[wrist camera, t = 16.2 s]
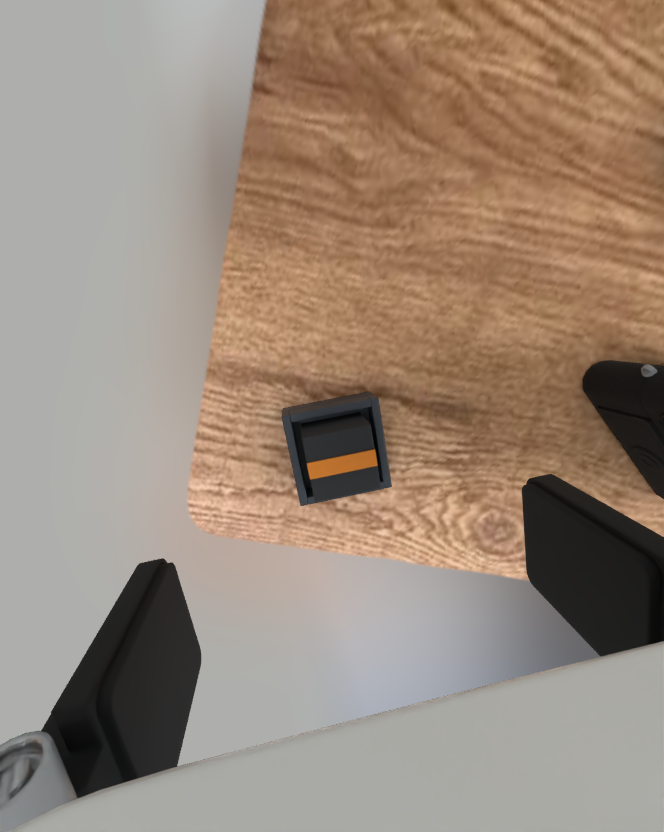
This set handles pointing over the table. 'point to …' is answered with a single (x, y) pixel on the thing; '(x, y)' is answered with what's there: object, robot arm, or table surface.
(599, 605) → the robot arm
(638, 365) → the camera
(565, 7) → the table surface
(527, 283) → the table surface
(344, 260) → the table surface
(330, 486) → the black orange striped cube
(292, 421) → the open box
